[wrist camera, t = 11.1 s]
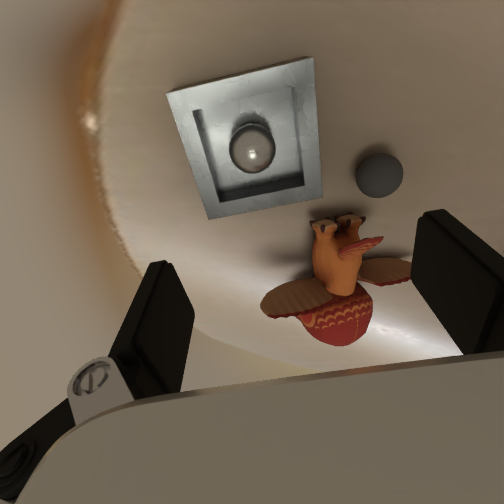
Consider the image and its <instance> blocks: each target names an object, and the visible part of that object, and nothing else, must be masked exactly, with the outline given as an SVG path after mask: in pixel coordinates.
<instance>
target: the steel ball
mask: <svg viewBox="0 0 504 504" xmlns="http://www.w3.org/2000/svg"><path fill="white" fill-rule="evenodd" d="M275 153H276V144H275V140H274V138H273V136H272V134H271V133H270V131H269V130H268V129H266V128H265V127H263V126H261V125H258V124H246V125H243V126H241V127H240V128H238V129H237V130H236V131H235V132H234V134H233V135H232V137H231V139H230V143H229V155H230V158H231V160H232V162H233V164H234V165H235V166H236V167H237V168H238V169H239V170H241V171H243V172H245V173H249V174H255V173H260V172H262V171H264V170H265V169H267V168H268V167H269V166H270V165H271V163H272V162H273V160H274V157H275Z"/></svg>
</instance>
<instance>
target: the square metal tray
mask: <svg viewBox="0 0 504 504" xmlns="http://www.w3.org/2000/svg"><path fill="white" fill-rule="evenodd" d="M166 95H167V98H168V101H169V104H170V107H171V110H172V113H173V116H174V119H175V122H176V125H177V128H178V131H179V134H180V137H181V139H182V142H183V145H184V148H185V151H186V154H187V157H188V160H189V163H190V166H191V169H192V172H193V175H194V178H195V181H196V184H197V187H198V190H199V193H200V196H201V199H202V202H203V205H204V208H205V211H206V214H207V217H208V220H211V219H216V218H221V217H226V216H231V215H236V214H241V213H246V212H251V211H256V210H261V209H266V208H271V207H276V206H281V205H286V204H292V203H297V202H302V201H307V200H312V199H317V198H322V197H323V196H322V181H321V166H320V151H319V135H318V120H317V105H316V90H315V75H314V60H313V57H307V56H305V57H301V58H297V59H293V60H289V61H285V62H281V63H277V64H273V65H269V66H264V67H260V68H256V69H252V70H248V71H244V72H240V73H236V74H232V75H228V76H224V77H220V78H216V79H212V80H208V81H204V82H199V83H195V84H191V85H187V86H183V87H179V88H175V89H173V90H171V91H169V92H168V93H166ZM246 124H258V125H261V126H263V127H265V128H266V129H268V130H269V131H270V133H271V134H272V136H273V138H274V140H275V144H276V153H275V157H274V160H273V162H272V163H271V165H270V166H269V167H268V168H267V169H265V170H264V171H262V172H260V173H255V174H249V173H245V172H243V171H241V170H239V169H238V168H237V167H236V166H235V165H234V164H233V162H232V160H231V158H230V155H229V143H230V139H231V137H232V135H233V134H234V132H235V131H236V130H237V129H238V128H240V127H241V126H243V125H246Z"/></svg>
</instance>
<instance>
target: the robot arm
mask: <svg viewBox="0 0 504 504" xmlns="http://www.w3.org/2000/svg"><path fill="white" fill-rule="evenodd" d="M410 276H411V280H412V282H413V284H414V285H415V287H416V288H417V290H418V291H419V293H420V294H421V295H422V297H423V298H424V300H425V301H426V302H427V304H428V305H429V307H430V308H431V309H432V311H433V312H434V314H435V315H436V317H437V318H438V319H439V321H440V322H441V324H442V325H443V326H444V328H445V329H446V331H447V332H448V334H449V335H450V336H451V338H452V339H453V341H454V342H455V343H456V345H457V346H458V348H459V349H460V351H461V352H462V353H463V355H459V356H450V357H442V358H434V359H426V360H418V361H410V362H402V363H394V364H386V365H378V366H370V367H362V368H354V369H347V370H339V371H331V372H324V373H316V374H308V375H302V376H293V377H286V378H278V379H270V380H263V381H256V382H248V383H241V384H234V385H226V386H219V387H212V388H204V389H197V390H191V391H185V392H180V389H181V384H182V380H183V374H184V369H185V364H186V359H187V354H188V349H189V344H190V339H191V334H192V329H193V323H194V318H195V313H194V309H193V307H192V304H191V302H190V300H189V298H188V296H187V294H186V292H185V290H184V288H183V285H182V283H181V281H180V279H179V277H178V275H177V273H176V271H175V269H174V266H173V265H172V263H168V262H167V261H166V260H162V261H157V262H152V263H150V264H149V266H148V268H147V271H146V273H145V275H144V277H143V279H142V282H141V284H140V286H139V288H138V290H137V293H136V295H135V297H134V299H133V302H132V304H131V306H130V308H129V310H128V312H127V315H126V317H125V319H124V322H123V323H122V326H121V328H120V330H119V332H118V334H117V337H116V339H115V341H114V343H113V345H112V348H111V350H110V353H109V355H108V357H99V358H96V359H93V360H92V361H89V362H88V363H86V364H85V365H84V366H82V367H81V368H80V369H79V370H78V371H77V372H76V373H75V374H74V375H73V377H72V379H71V380H70V382H69V385H68V388H67V395H68V398H66V399H65V400H64V401H63V402H61V403H60V404H59V405H58V406H57V407H55V408H54V409H52V410H51V411H50V412H49V413H48V414H46V415H45V416H44V417H42V418H41V419H40V420H39V421H37V422H36V423H35V424H33V425H32V426H31V427H30V428H28V429H27V430H26V431H24V432H23V433H22V434H21V435H19V436H18V437H17V438H16V439H14V440H13V441H12V442H10V443H9V444H8V445H7V446H6V447H5V448H4V449H3V450H2V451H1V452H0V504H504V257H503V256H501V255H500V254H499V253H498V252H496V251H495V250H494V249H493V248H491V247H490V246H489V245H488V244H487V243H485V242H484V241H483V240H482V239H480V238H479V237H478V236H477V235H476V234H474V233H473V232H472V231H471V230H469V229H468V228H467V227H466V226H464V225H463V224H462V223H461V222H460V221H458V220H457V219H456V218H455V217H453V216H452V215H451V214H450V213H448V212H447V211H446V210H444V209H439V210H433V211H428V212H425V213H424V214H423V216H422V217H420V218H419V219H418V223H417V230H416V237H415V244H414V251H413V258H412V265H411V272H410Z"/></svg>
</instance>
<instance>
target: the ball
mask: <svg viewBox="0 0 504 504" xmlns="http://www.w3.org/2000/svg"><path fill="white" fill-rule="evenodd" d="M402 179H403V168H402V165H401V163H400V162H399V161H398V160H397V159H396V158H395V157H394V156H392V155H389V154H384V153H380V154H375V155H372V156H370V157H368V158H367V159H365V160H364V161H363V162H362V163H361V165H360V166H359V168H358V170H357V174H356V182H357V185H358V187H359V189H360V190H361V192H363V193H364V194H365V195H367V196H369V197H373V198H382V197H386V196H388V195H390V194H392V193H393V192H394V191H395V190H396V189H397V188H398V187H399V186H400V184H401V182H402Z"/></svg>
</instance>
